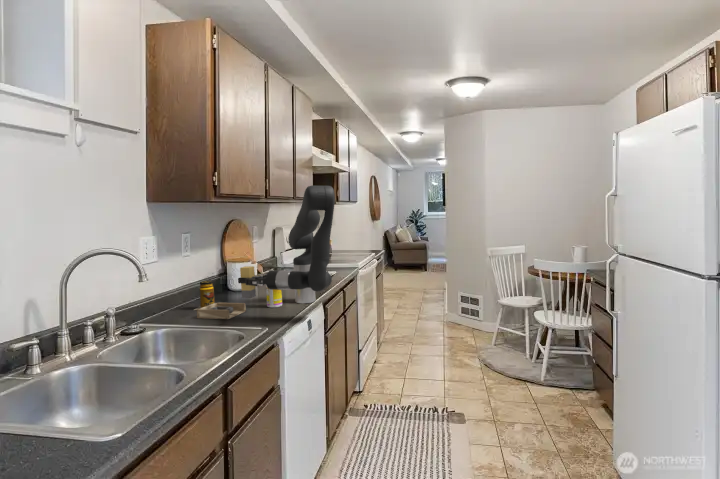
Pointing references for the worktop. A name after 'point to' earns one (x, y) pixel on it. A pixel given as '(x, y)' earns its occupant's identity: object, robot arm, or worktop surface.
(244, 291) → the yellow upright block
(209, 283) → the condiment
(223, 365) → the worktop surface
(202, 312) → the walled box
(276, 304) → the supplement bottle
